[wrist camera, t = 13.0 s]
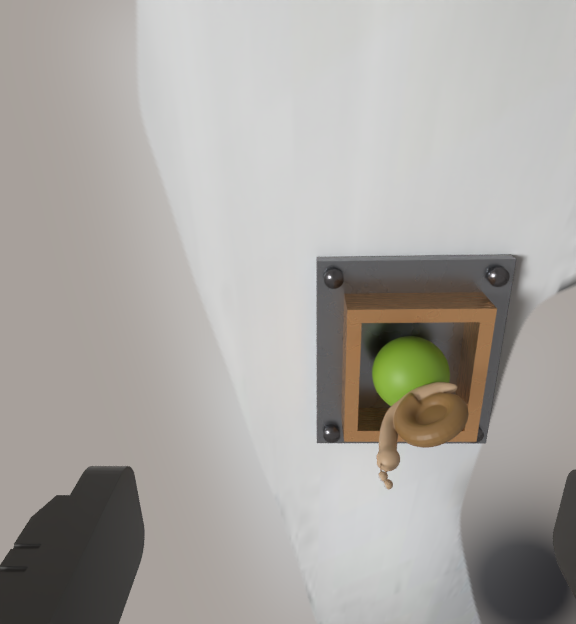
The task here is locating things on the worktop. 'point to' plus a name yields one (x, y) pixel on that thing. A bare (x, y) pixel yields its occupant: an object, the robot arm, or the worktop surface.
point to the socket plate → (407, 333)
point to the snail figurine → (415, 399)
